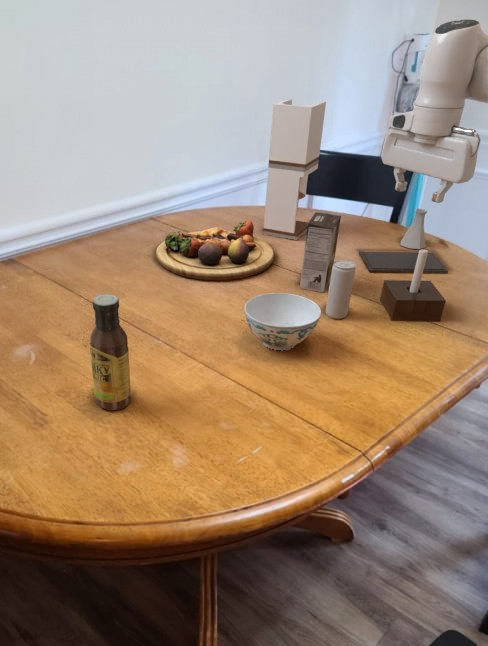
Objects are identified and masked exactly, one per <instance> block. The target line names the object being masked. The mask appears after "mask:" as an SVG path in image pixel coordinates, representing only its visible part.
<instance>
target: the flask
mask: <svg viewBox="0 0 488 646" xmlns="http://www.w3.org/2000/svg"><path fill="white" fill-rule="evenodd" d="M427 213H428V209H424V208H416V209H415V210H414V214H415V215H414V217H413V220H412V222H411V224H410V226H409V227H408V229H407V231H406V233H405V234H404V236H403V237H402V238H401V241H400V246H401V247H405V248H408V249H415V250H421V249H424V248H427V244H426V235H425V218H426V214H427Z"/></svg>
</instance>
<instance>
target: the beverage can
mask: <svg viewBox="0 0 488 646" xmlns="http://www.w3.org/2000/svg"><path fill="white" fill-rule="evenodd" d="M356 266H357V265H356V263H355V262H353V261H351V260H347V259H339V260H334V265H333V267H332V273H331V279H330V282H329V285H328V286H329V287H328V294H327V300H326V305H325V306H326V307H325V314H326V316H328V317H329V318H330V319H334V320H342V319H344V318H346V317H347V316H348V313H349V307H350V303H351V302H350V301H351V296H352V292H353V291H352V290H353V287H354V286H353V285H354V280H355V276H356V275H355V274H356V269H357V268H356Z"/></svg>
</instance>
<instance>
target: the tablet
mask: <svg viewBox="0 0 488 646" xmlns="http://www.w3.org/2000/svg"><path fill="white" fill-rule="evenodd" d="M418 254H419V251H418V252H417V251H358V255H359V257H360V259H361V260H362V263H363V264H364V266H365V267H366V269H367V271H368V272H369V274H370V273H371V274H373V273H375V274H376V273H377V274H378V273H379V274H414V270H415V266H416V262H417V258H418ZM448 273H449V270H448V269H447V268H446V266H445V265H444V264H443V263H442V262H441V260H440V259H439V258H438V257H437V256H436V255H435V254H434V252H432V251H431V252H429V251H428V255H427V259H426V262H425V266H424V270H423V274H438V275H439V274H441V275H443V274H444V275H445V274H446V275H448Z"/></svg>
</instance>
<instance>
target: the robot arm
mask: <svg viewBox="0 0 488 646" xmlns="http://www.w3.org/2000/svg"><path fill="white" fill-rule="evenodd" d="M419 75H420V76H419V91H418V94H417V96H416V99H415V101H414V105H413V109H412V110H407V111H405V112H401V113H397V114H393V115H391V116H390V117H389V120H388V126H389V127H390V128H389V129H388V130H387V132H386V134H385V137H384V141H383V145H382V149H381V155H380V156H381V161H382V164H384V165H386V166H391V167H393V175H394V179H395V182H396V183H395V187H394V190H395V191H397V192H401V193H402V192H406V190H407V186H408V181H406V180H405V173H406V172H407V171H408V172H413V173H417V174H420V175H424V176H428V177H430V178H435V179H439V180H440V183H439V186H441V187H440V188H439V189H438V190H437V191H433V192H432V198H431V201H432V202H434V203H437V204H440V203H443V202H444V198H445V195H446V193H448V191H449V190H450V189H451V188H452V186H453V185H454V184H457V185H458V184H464V183H468V182H470V181H471V180H472V179H473V177H474V175H475V171H476V166H477V159H478V154H479V153H478V151H479V150H480V149H479V148H480V145H481V140H482V139H481V137H480V135H479V133H477V130H476V129H474V128H466V127H463V126H460V125H461V124H460V123H461V120H462V116H463V112H464V108H465V102H466V101H465V100H471V101H474V102H475V101H476V102H478V103H484V104H488V35H487V34H486V33H485V32H484V31H483V29H482V28H481V22H480V21H478V20H476V19H461V20H452V21H448V22H444V23H442V24H440V25H439V26H437V27H436V28H435V29H434V30H433V32H432V34H431V36H430V38H429V41H428V44H427V47H426V50H425V54H424V57H423V61H422V66H421V71H420V74H419Z"/></svg>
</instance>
